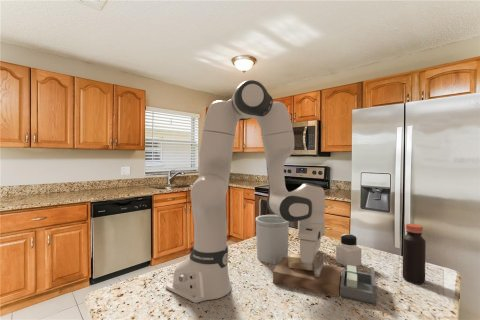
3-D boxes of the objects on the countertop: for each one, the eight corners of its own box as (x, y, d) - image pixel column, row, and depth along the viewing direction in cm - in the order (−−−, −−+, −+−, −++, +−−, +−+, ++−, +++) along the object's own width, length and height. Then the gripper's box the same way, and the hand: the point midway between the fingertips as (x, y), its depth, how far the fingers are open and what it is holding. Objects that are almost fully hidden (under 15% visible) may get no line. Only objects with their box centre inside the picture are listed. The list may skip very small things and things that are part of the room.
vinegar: (420, 276, 93) (420, 223, 93) (428, 285, 87) (429, 228, 86) (399, 274, 95) (400, 222, 95) (406, 283, 88) (407, 227, 88)
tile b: (346, 270, 85) (356, 272, 84) (347, 264, 90) (356, 266, 89) (346, 285, 85) (356, 286, 84) (347, 278, 90) (356, 280, 89)
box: (340, 297, 79) (340, 278, 79) (342, 278, 92) (342, 262, 92) (376, 305, 75) (376, 286, 75) (373, 284, 87) (373, 267, 87)
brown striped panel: (272, 282, 89) (272, 271, 89) (283, 266, 101) (283, 257, 101) (339, 297, 79) (339, 284, 79) (341, 278, 92) (341, 267, 92)
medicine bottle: (361, 265, 103) (362, 236, 103) (348, 268, 100) (348, 238, 100) (348, 259, 109) (348, 231, 109) (335, 261, 107) (335, 233, 106)
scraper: (285, 272, 87) (284, 261, 87) (293, 259, 98) (293, 249, 98) (319, 277, 82) (318, 265, 82) (323, 263, 93) (323, 253, 93)
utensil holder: (281, 267, 100) (281, 224, 100) (249, 259, 108) (249, 219, 108) (293, 255, 113) (294, 217, 113) (264, 249, 121) (264, 213, 121)
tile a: (346, 278, 79) (357, 280, 78) (347, 272, 84) (357, 274, 83) (346, 294, 79) (357, 296, 78) (347, 287, 84) (357, 289, 83)
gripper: (308, 220, 100) (307, 255, 100) (296, 234, 82) (296, 276, 82) (324, 222, 97) (324, 257, 97) (316, 237, 79) (316, 281, 79)
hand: (311, 266), depth 89 cm, fingers closed on scraper, 3 cm apart
